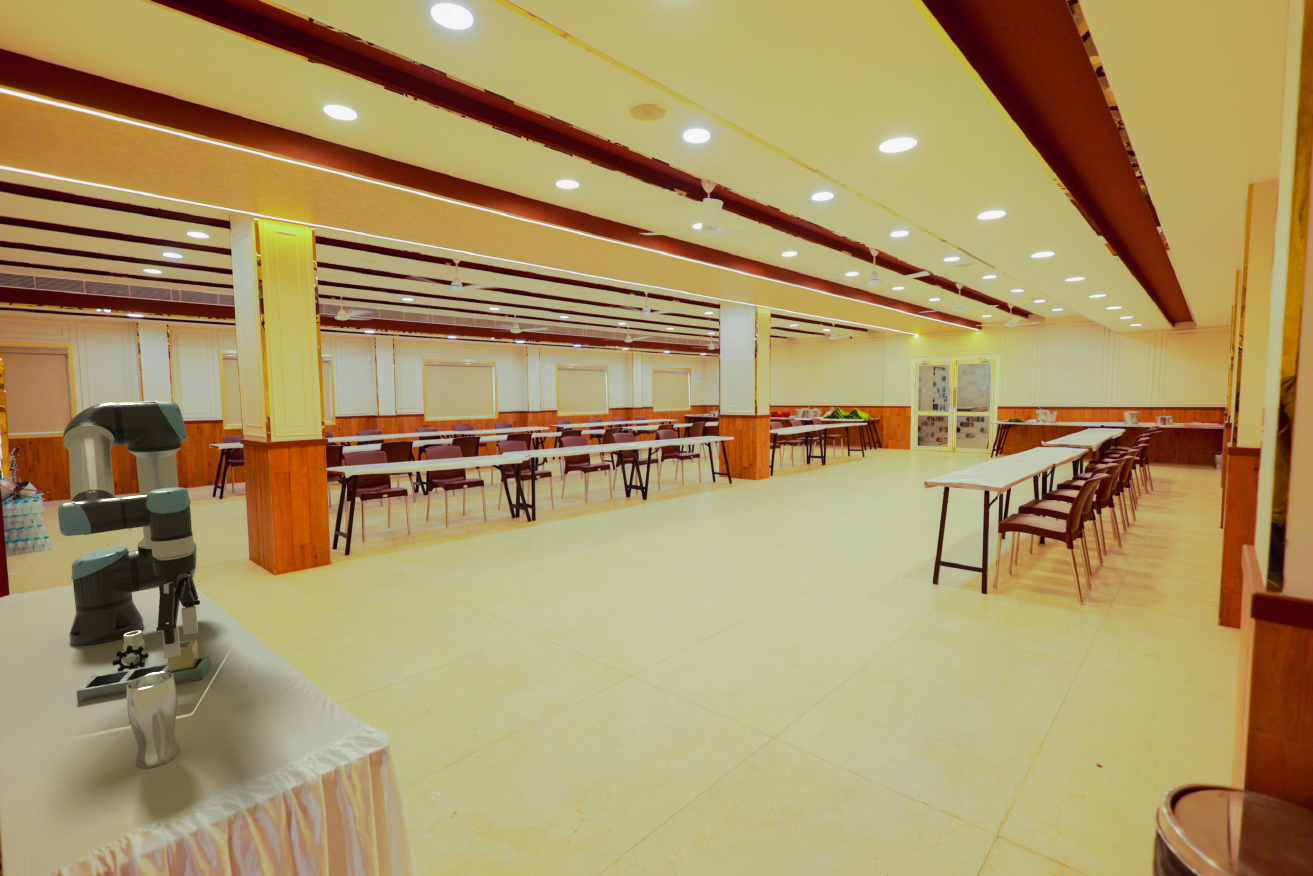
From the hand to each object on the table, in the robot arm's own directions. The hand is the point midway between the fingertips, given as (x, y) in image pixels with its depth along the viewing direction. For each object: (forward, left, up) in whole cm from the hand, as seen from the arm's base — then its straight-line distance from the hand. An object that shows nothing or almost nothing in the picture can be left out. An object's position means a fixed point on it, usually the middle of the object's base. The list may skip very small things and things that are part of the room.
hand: (182, 644), depth 139 cm
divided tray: (0, -7, -8) cm, 11 cm away
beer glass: (+35, +5, -8) cm, 37 cm away
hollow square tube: (0, 0, -8) cm, 8 cm away
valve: (-15, -14, -9) cm, 23 cm away
